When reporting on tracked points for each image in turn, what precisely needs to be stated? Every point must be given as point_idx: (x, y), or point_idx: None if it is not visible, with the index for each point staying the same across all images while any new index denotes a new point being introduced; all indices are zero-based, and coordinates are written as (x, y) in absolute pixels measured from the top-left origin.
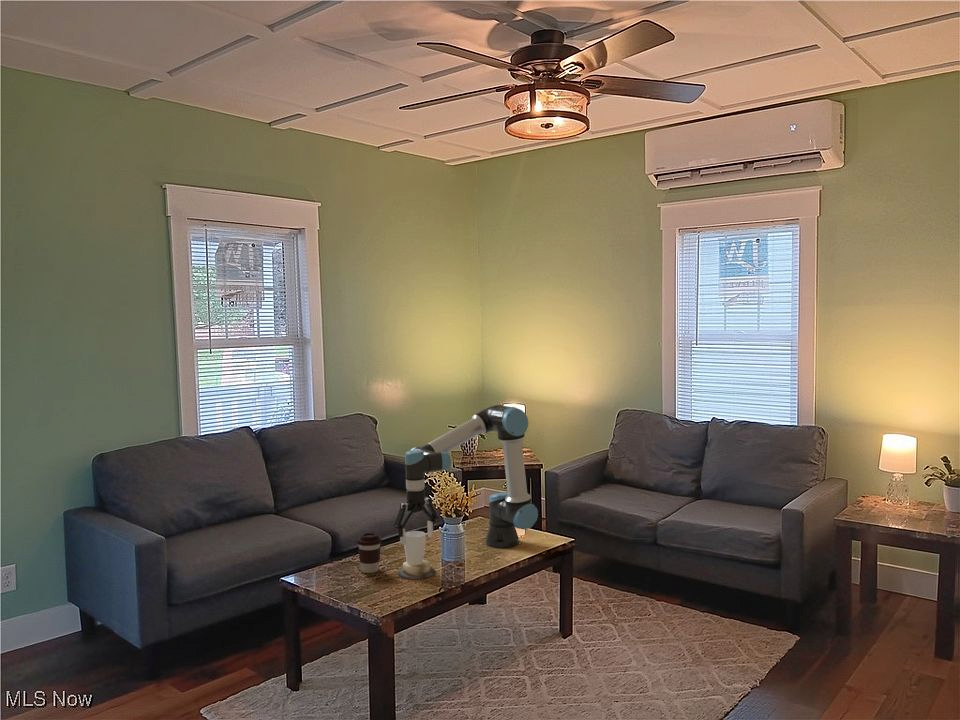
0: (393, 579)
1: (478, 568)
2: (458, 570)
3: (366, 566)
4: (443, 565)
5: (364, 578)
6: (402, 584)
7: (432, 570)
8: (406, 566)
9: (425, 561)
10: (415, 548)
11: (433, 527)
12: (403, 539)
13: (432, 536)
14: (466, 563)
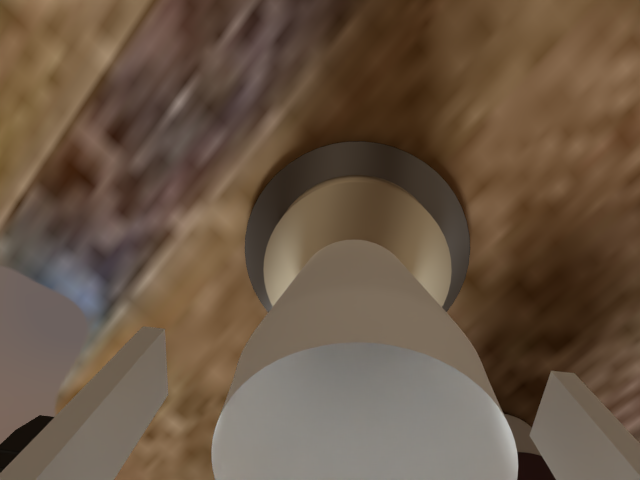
0: (516, 272)
1: (11, 32)
2: (136, 103)
3: None
4: (157, 238)
5: (598, 390)
6: (552, 169)
7: (276, 198)
8: (443, 281)
9: (283, 263)
10: (428, 294)
11: (29, 432)
12: (622, 436)
13: (143, 336)
14: (28, 165)
